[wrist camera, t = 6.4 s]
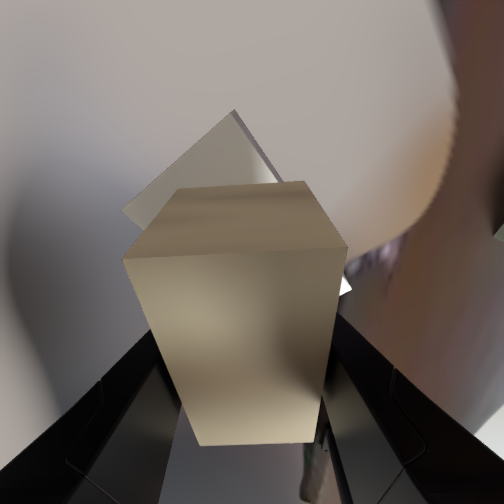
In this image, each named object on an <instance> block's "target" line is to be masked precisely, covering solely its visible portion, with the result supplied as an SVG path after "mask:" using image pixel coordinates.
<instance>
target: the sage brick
mask: <svg viewBox="0 0 504 504" xmlns="http://www.w3.org/2000/svg"><path fill="white" fill-rule="evenodd" d="M493 237H494V238H496V239H498V240H500V241H501V242H503V243H504V224H503V225H502V226H501V227H500V229H499V230H498V231H497V232H496V234H495V235H494V236H493Z"/></svg>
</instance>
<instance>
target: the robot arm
mask: <svg viewBox="0 0 504 504" xmlns="http://www.w3.org/2000/svg"><path fill="white" fill-rule="evenodd" d="M322 396H323V400H324V403H325V406H326V410H327V413H328V417H329V420H330V424H327V425H326V427H325V432H324V436H323V440H322V445H321V449H322V452H330V455H331V460H332V464H333V469H334V473H335V478H336V482H337V486H338V491H339V495H340V500H341V504H504V460H503V459H502V458H500V457H499V456H498V455H497V454H496V453H494V452H493V451H492V450H491V449H489V448H488V447H487V446H486V445H485V444H483V443H482V442H481V441H480V440H479V439H477V438H476V437H475V436H474V435H472V434H471V433H470V432H469V431H468V430H466V429H465V428H464V427H463V426H462V425H460V424H459V423H458V422H457V421H455V420H454V419H453V418H452V417H451V416H449V415H448V414H447V413H446V412H445V411H443V410H442V409H441V408H440V407H439V406H438V405H436V404H435V403H434V402H433V401H432V400H430V399H429V398H428V397H427V396H426V395H425V394H424V393H422V392H421V391H420V390H419V389H418V388H417V387H416V386H415V385H414V384H413V383H412V382H410V381H409V380H408V379H407V378H406V377H405V376H404V375H403V374H402V373H401V372H400V371H399V370H398V369H397V368H395V369H394V366H393V365H392V364H391V363H390V362H389V361H388V360H387V359H386V358H385V357H384V356H383V355H382V354H381V353H380V352H379V351H378V350H377V349H376V348H375V347H374V346H373V345H371V344H370V343H369V342H368V341H367V340H366V339H365V338H364V337H363V336H362V335H361V334H360V333H359V332H358V331H357V330H356V329H355V328H354V327H353V326H352V325H351V324H350V323H348V322H347V321H346V320H345V319H344V318H343V317H342V316H341V315H340V314H339V313H338V312H337V311H336V317H335V323H334V328H333V334H332V340H331V345H330V351H329V357H328V362H327V368H326V374H325V379H324V385H323V391H322ZM181 404H182V402H181V400H180V397H179V395H178V393H177V390H176V388H175V385H174V383H173V381H172V378H171V376H170V374H169V371H168V369H167V366H166V364H165V362H164V359H163V357H162V355H161V352H160V350H159V347H158V345H157V343H156V340H155V338H154V336H153V333H152V331H151V329H150V330H149V331H148V332H147V333H146V334H145V335H144V336H143V337H142V338H141V339H140V340H139V341H138V342H137V343H136V344H135V345H134V346H133V347H132V348H131V349H130V350H129V351H128V352H127V353H126V354H125V355H124V356H123V357H122V358H121V359H120V360H119V361H118V362H117V363H116V364H115V365H114V366H113V367H112V368H111V369H110V370H109V371H108V372H107V373H106V374H105V375H104V376H103V377H102V378H101V381H98V382H97V383H96V384H95V385H94V386H93V387H92V388H91V389H90V390H89V391H88V392H87V393H86V394H85V395H83V396H82V397H81V398H80V399H79V400H78V401H77V402H76V403H75V404H74V405H73V406H72V407H71V408H70V409H69V410H68V411H67V412H66V413H65V414H63V415H62V416H61V417H60V418H59V419H58V420H57V421H56V422H55V423H54V424H52V425H51V426H50V427H49V428H48V429H47V430H46V431H45V432H43V433H42V434H41V435H40V436H39V437H38V438H37V439H36V440H34V441H33V442H32V443H31V444H30V445H29V446H28V447H26V448H25V449H24V450H23V451H22V452H21V453H20V454H18V455H17V456H16V457H15V458H14V459H13V460H12V461H10V462H9V463H8V464H7V465H6V466H5V467H4V468H2V469H1V470H0V504H158V502H159V497H160V493H161V489H162V485H163V481H164V476H165V472H166V468H167V464H168V459H169V455H170V451H171V447H172V442H173V438H174V434H175V430H176V425H177V421H178V416H179V413H180V408H181Z"/></svg>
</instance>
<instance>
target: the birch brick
mask: <svg viewBox="0 0 504 504" xmlns="http://www.w3.org/2000/svg"><path fill="white" fill-rule="evenodd" d="M347 249H348V246H347V245H346V243H345V242H344V240H343V239H342V237H341V236H340V234H339V233H338V231H337V230H336V228H335V227H334V225H333V224H332V222H331V221H330V219H329V217H328V216H327V214H326V213H325V212H324V210H323V208H322V207H321V205H320V204H319V202H318V201H317V199H316V198H315V196H314V195H313V193H312V192H311V190H310V189H309V187H308V186H307V184H306V183H305V181H294V182H277V183H261V184H245V185H228V186H212V187H196V188H180V189H177V190H176V192H175V193H174V194H173V195H172V197H171V198H170V199H169V200H168V202H167V203H166V204H165V205H164V207H163V208H162V209H161V210H160V212H159V213H158V214H157V215H156V217H155V218H154V219H153V220H152V222H151V223H150V224H149V225H148V227H147V228H146V229H145V230H144V232H143V233H142V234H141V235H140V237H139V238H138V239H137V240H136V242H135V243H134V244H133V245H132V247H131V248H130V249H129V251H128V252H127V253H126V254H125V255H124V257H123V258H122V262H123V264H124V267H125V269H126V271H127V274H128V276H129V278H130V281H131V283H132V285H133V288H134V290H135V293H136V295H137V297H138V300H139V302H140V305H141V307H142V309H143V312H144V314H145V316H146V319H147V321H148V324H149V326H150V328H151V331H152V333H153V336H154V338H155V340H156V343H157V345H158V347H159V350H160V352H161V355H162V357H163V359H164V362H165V364H166V366H167V369H168V371H169V374H170V376H171V378H172V381H173V383H174V385H175V388H176V390H177V393H178V395H179V397H180V400H181V402H182V404H183V407H184V409H185V411H186V414H187V416H188V419H189V421H190V423H191V426H192V428H193V431H194V433H195V435H196V438H197V440H198V442H199V444H200V446H211V445H212V446H214V445H243V444H272V443H303V442H314V436H315V430H316V425H317V419H318V413H319V408H320V402H321V396H322V391H323V385H324V379H325V374H326V368H327V362H328V357H329V351H330V345H331V340H332V334H333V328H334V323H335V317H336V311H337V306H338V300H339V294H340V289H341V283H342V277H343V272H344V266H345V260H346V255H347Z"/></svg>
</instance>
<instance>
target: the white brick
mask: <svg viewBox="0 0 504 504" xmlns="http://www.w3.org/2000/svg"><path fill="white" fill-rule="evenodd" d="M277 182H284V181H283V180H282V178H281V177H280V176H279V174H278V173H277V171H276V170H275V168H274V167H273V165H272V164H271V162H270V161H269V159H268V158H267V156H266V155H265V153H264V152H263V150H262V149H261V147H260V146H259V144H258V143H257V141H256V140H255V139H254V137H253V136H252V134H251V133H250V131H249V130H248V128H247V127H246V125H245V124H244V122H243V121H242V119H241V118H240V117H239V115H238V113H237V112H236V110H235V109H234V110H233V111H232V112H230V113H229V114H228V115H227V116H226V117H225V118H224V119H223V120H221V121H220V122H219V123H218V124H217V125H216V126H215V127H214V128H212V130H210V131H209V132H208V133H207V134H206V135H205V136H203V137H202V138H201V139H200V140H199V141H198V142H197V143H196V144H195V145H193V146H192V147H191V148H190V149H189V150H188V151H187V152H185V153H184V154H183V155H182V156H181V157H180V158H179V159H178V160H177V161H175V162H174V163H173V164H172V165H171V166H170V167H169V168H167V169H166V170H165V171H164V172H163V173H162V174H161V175H160V176H159V177H158V178H156V179H155V180H154V181H153V182H152V183H151V184H149V185H148V186H147V187H146V188H145V189H144V190H143V191H142V192H141V193H139V194H138V195H137V196H136V197H135V198H134V199H133V200H131V201H130V202H129V203H128V204H127V205H126V206H125V207H124V208H122V209H121V212H122V213H123V214H124V215H126V216H127V217H128V218H129V219H130V220H131V221H132V222H133V223H134V224H136V225H137V226H138V227H139V228H140V229H141V230H142V231H143V232H144V230H145V229H146V228H147V227H148V225H149V224H150V223H151V222H152V220H153V219H154V218H155V217H156V215H157V214H158V213H159V212H160V210H161V209H162V208H163V207H164V205H165V204H166V203H167V202H168V200H169V199H170V198H171V197H172V195H173V194H174V193H175V192H176V190H177V189H180V188H196V187H212V186H228V185H245V184H261V183H277ZM350 290H352V289H351V287H350V285H349V283H348V281H347V279H346V277H345V275H344V274H343V277H342V283H341V289H340V294H339V296H340V295H342V294H344V293H346V292H348V291H350Z"/></svg>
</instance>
